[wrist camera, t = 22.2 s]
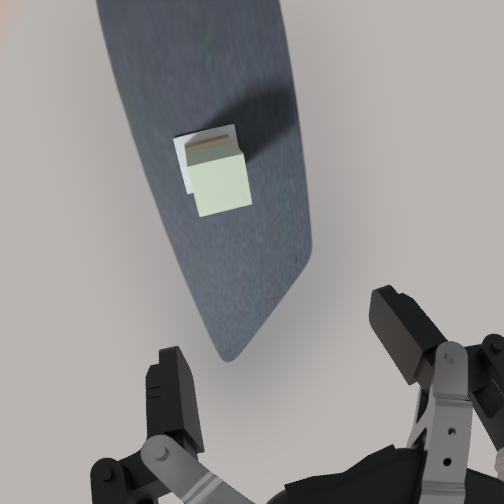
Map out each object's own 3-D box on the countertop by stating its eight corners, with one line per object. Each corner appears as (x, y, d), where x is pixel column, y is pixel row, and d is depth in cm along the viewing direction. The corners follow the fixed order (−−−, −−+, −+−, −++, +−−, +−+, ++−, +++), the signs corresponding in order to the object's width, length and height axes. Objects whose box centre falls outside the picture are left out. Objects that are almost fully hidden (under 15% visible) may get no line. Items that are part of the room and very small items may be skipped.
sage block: (185, 153, 31) (187, 166, 27) (233, 141, 31) (243, 153, 27) (196, 196, 33) (199, 217, 29) (241, 185, 34) (252, 204, 30)
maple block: (184, 144, 34) (185, 153, 31) (227, 134, 34) (233, 141, 31) (193, 184, 37) (196, 196, 33) (235, 174, 37) (241, 185, 34)
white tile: (173, 138, 34) (173, 138, 33) (233, 123, 34) (234, 124, 34) (187, 192, 38) (187, 194, 37) (243, 178, 38) (244, 180, 38)
